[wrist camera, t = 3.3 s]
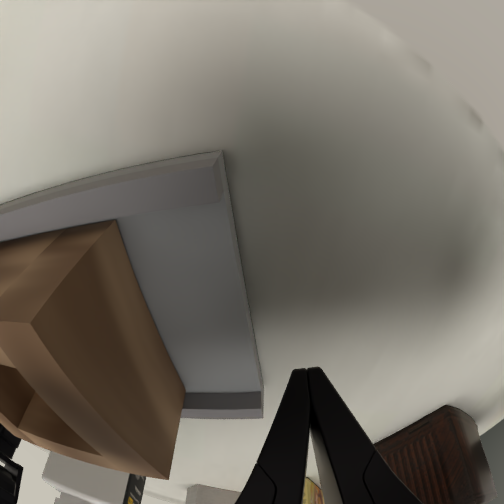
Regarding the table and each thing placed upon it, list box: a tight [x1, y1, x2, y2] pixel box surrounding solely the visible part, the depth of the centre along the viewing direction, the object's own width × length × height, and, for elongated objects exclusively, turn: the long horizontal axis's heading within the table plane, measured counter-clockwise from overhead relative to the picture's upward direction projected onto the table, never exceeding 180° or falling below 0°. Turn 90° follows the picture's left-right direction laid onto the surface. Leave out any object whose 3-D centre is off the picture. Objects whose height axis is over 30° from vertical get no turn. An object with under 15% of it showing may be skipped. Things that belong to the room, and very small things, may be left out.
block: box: [0, 220, 186, 480], centre depth 10 cm, size 10×9×5 cm
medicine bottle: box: [42, 451, 146, 504], centre depth 16 cm, size 7×7×12 cm
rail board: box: [0, 151, 264, 419], centre depth 10 cm, size 21×12×8 cm, turn 97°
